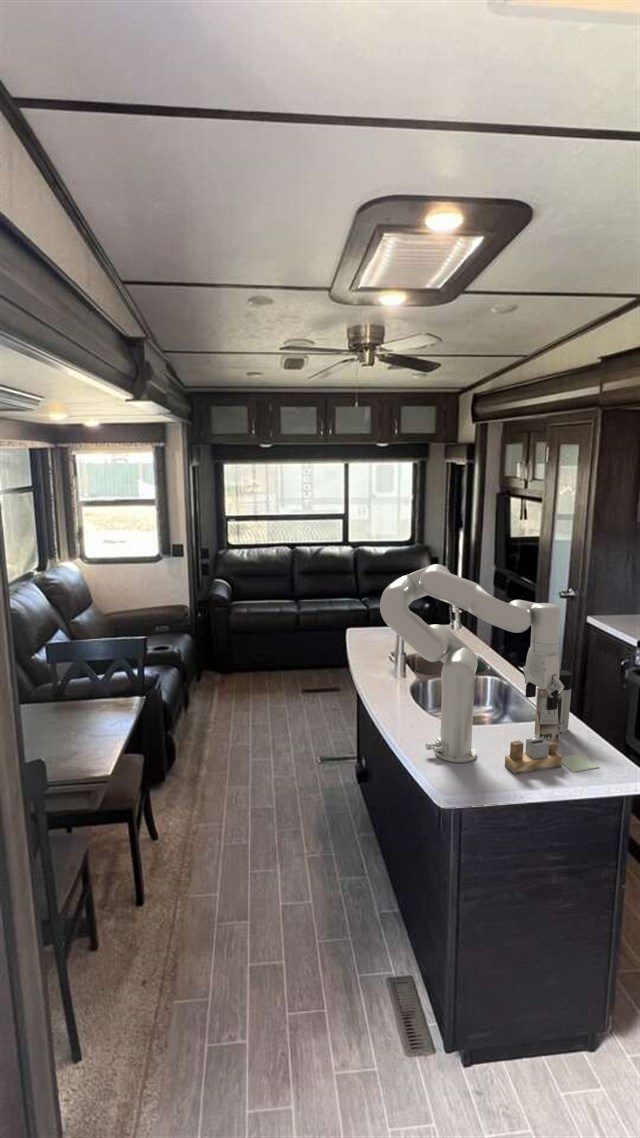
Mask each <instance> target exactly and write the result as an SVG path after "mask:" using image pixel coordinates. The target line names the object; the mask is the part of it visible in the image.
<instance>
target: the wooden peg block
mask: <svg viewBox="0 0 640 1138" xmlns="http://www.w3.org/2000/svg"><path fill="white" fill-rule="evenodd" d="M548 743H549V754H548V757H547V758H541V759H535V760H533V759H532V758H531V757H529V756H528V755H527V754H525V752H524V742H522V741H521V740H515V741H514V740H513V741H510V745H509V746H510V749H509V754H506V755H505V757H504V768H506V769H507V770H508V771H510V772H511V774H513V775H514V776H516V775H521V774H523V775H524V774H527V773H528V774H529V773H533V772H534V773H535V772H539V771H546V770H551V769H552V770H553V769H557V768H562V766H563V764H562V757H563V755H561V754H560V752H557V744H556V743H555V742H548Z"/></svg>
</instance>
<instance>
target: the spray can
mask: <svg viewBox="0 0 640 1138" xmlns="http://www.w3.org/2000/svg"><path fill="white" fill-rule="evenodd" d="M559 680H560V681H561V683H562V684H563V685H564V689H563V690H562V693H561V694H560V696H561V698H562V706H561V718H560V731H559V734H561V733H562V734H563V733H564V734H565V733H566V732H568V729H569V724H570V723H569V722H570V721H569V720H570V712H571V711H570V709H571V708H570V707H571V697H572V689H573V688H572V685H573V673H572V672H571V671H568V670H567V669H566V670H565V669H559Z"/></svg>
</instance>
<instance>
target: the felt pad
mask: <svg viewBox="0 0 640 1138" xmlns="http://www.w3.org/2000/svg"><path fill="white" fill-rule="evenodd" d="M562 766H565V767H566V768H568V770H570V771H572V772H573V773H576V772H583V771H587V770H588V771H589V770H593V769H599V768H600V765H597V763H594V762H593V761H591V760H590V759H588V758H587V757H585V756H584V755H583V754H575V755H569V756H562Z"/></svg>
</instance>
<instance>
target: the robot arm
mask: <svg viewBox="0 0 640 1138" xmlns="http://www.w3.org/2000/svg"><path fill="white" fill-rule="evenodd" d="M427 596H429V597H432V598H434V599H437V600H439V601H442V602H445V603H447V604H450V605H453V606H454V607H457V608H459V609H462V610H465V611H467V612H468V613H470V614H472V615H473V616H474V617H476V618H478V619H480V620H482V621H483V622H486V623H487V624H490V625H491V626H494V627H497V628H499V629H502V630H505V631H507V632H511V633H514V634H515V633H516V634H517V633H519V634H520V633H523V632H525V631H527V630H528V629H529V628H530V627H531V628H530V629H531V631H530V645H529V646H530V647H528V651H527V654H526V660H525V665H524V666H522V672H523V678H524V684H526V685H525V698H527V699H528V698H535V697H537V688H542V689H546V690H547V693H548V695H549V696H548V697H547V705H546V709H547V710H555V709H557V702H558V697H559V696H560V694H561V693H562V690H563V689H564V685H563V684H562V683H561V681H560V680H559V670H560V660H559V659H560V658H559V646H560V645H559V643H560V642H559V641H560V626H561V608H560V606H559V605H557V604H554V603H550V602H539V603H538V602H532V601H528V600H522V599H514V600H511V601H510V602H506V601H503V600H500V599H498V598H496V597H495V596H493V595H491V594H489V593H488V592H487V591H486V590H485V589H484V588H483V587H482V586H481V585H480V584H479V583H477V582H474V581H471V580H469V579H466V578H463V577H461V576H458V575H455V574H453V573H451V572H450V570H449V569H448V568H447V567H446V566H445V565H442V564H439V563H438V564H437V563H434V564H431V565H428V566H426V567H424V568H421V569H418V570H416V571H413V572H411V573H409V574H406V575H402V576H401V577H399V578H397V579H395V580H394V581H393V582H391V583H389V584H388V585H387V586H386V587H385V589H384V590H383V592H382V595H381V597H380V603H379V610H380V611H379V612H380V615H381V617H382V618H381V619H383V621H384V623H386V625H387V626H388V627H389V628H390V629H391V630H392V631H394V633H395V634H397V635H398V636H399V637H400V638H401V639H402V640H403V641H404V642H405V643H406V644H408V646H410V648H412V649H413V650H414V651H415V652H416V653H417V654H418V655H419V656H420V657H422V658H423V659H424V660H425V661H427V662H430V663H434V662H435V663H436V662H438V661H440V662H441V663H443V666H442V668H441V673H440V674H441V675H440V676H441V677H440V678H441V679H440V680H441V704H440V705H441V708H440V709H441V710H440V733H439V734H440V736H439V737H437V738H436V741H434V742H429V743H425V750H426V751H430V750H432V751H433V753H435V755H436V756H437V757H438V758H439V759H441V760H444V761H447V762H450V763H456V764H457V763H459V764H461V763H462V764H463V763H468V762H472V761H474V760H475V759H476V758H477V750H476V748H475V747H474V746H473V745H472V743H473V721H474V720H473V718H474V699H475V697H474V696H475V692H474V691H475V677H476V672H477V669H478V663H479V662H478V657H477V655H476V653H475V652H474V651H473V650H472V649H471V648H470V647H469V646H468V645H467V644H466V643H465V642H464V641H462V640H461V639H460V638H459V637H458V636H457V635H456V634H454V632H453V631H451V630H450V629H449V628H447V627H446V626H444V625H441V624H438V623H437V624H428V623H427V622H425V621H424V620H423V619H422V618H421V617H420V616H419V615H417V614H416V613H414V612H413V611H411V610H410V608H409V606H410V604H411V603H412V602H414V601H416V600H419V599H421V598H423V597H427ZM551 689H553V690H554V691H553V692H552V691H551Z"/></svg>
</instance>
